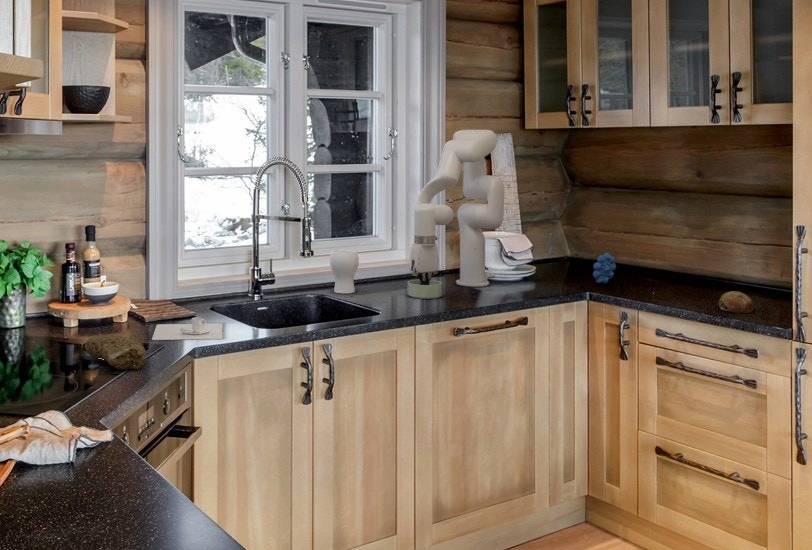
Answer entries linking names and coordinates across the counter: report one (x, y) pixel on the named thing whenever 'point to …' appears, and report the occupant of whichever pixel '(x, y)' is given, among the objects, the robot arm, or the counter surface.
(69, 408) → the counter surface
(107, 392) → the counter surface
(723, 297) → the bread roll
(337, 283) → the cup
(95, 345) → the sponge
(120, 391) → the counter surface
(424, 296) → the bowl
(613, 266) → the grapes
